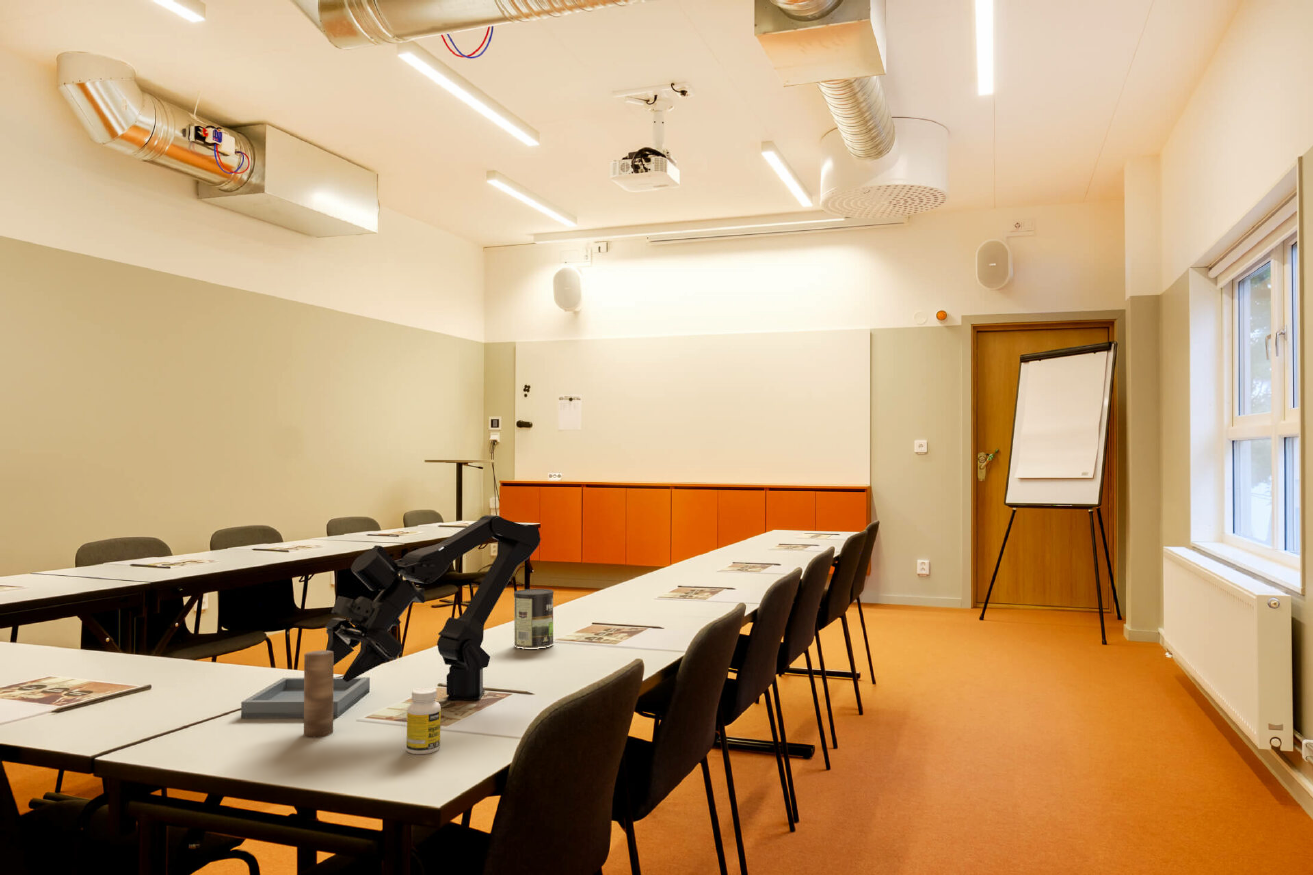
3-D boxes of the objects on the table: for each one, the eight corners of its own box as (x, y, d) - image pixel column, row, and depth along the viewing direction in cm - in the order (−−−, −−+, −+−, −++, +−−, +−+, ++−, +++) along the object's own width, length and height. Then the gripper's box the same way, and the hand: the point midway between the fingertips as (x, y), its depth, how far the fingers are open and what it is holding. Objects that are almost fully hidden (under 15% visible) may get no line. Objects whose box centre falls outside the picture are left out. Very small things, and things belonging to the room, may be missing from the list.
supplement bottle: (431, 756, 138) (431, 695, 138) (400, 754, 139) (400, 693, 139) (446, 745, 143) (446, 686, 143) (416, 743, 144) (416, 685, 144)
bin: (369, 691, 177) (369, 677, 177) (337, 717, 159) (337, 701, 159) (283, 692, 177) (283, 677, 177) (241, 718, 159) (241, 702, 159)
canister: (337, 728, 152) (337, 650, 153) (326, 737, 147) (327, 656, 148) (310, 728, 152) (310, 650, 153) (299, 737, 147) (299, 656, 148)
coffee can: (556, 641, 226) (556, 588, 226) (550, 649, 216) (550, 594, 216) (517, 641, 226) (517, 588, 226) (510, 650, 216) (510, 594, 216)
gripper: (336, 575, 163) (277, 641, 154) (387, 584, 150) (326, 657, 142) (373, 611, 168) (318, 677, 160) (425, 622, 156) (369, 695, 147)
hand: (331, 676), depth 152 cm, fingers open, 9 cm apart
